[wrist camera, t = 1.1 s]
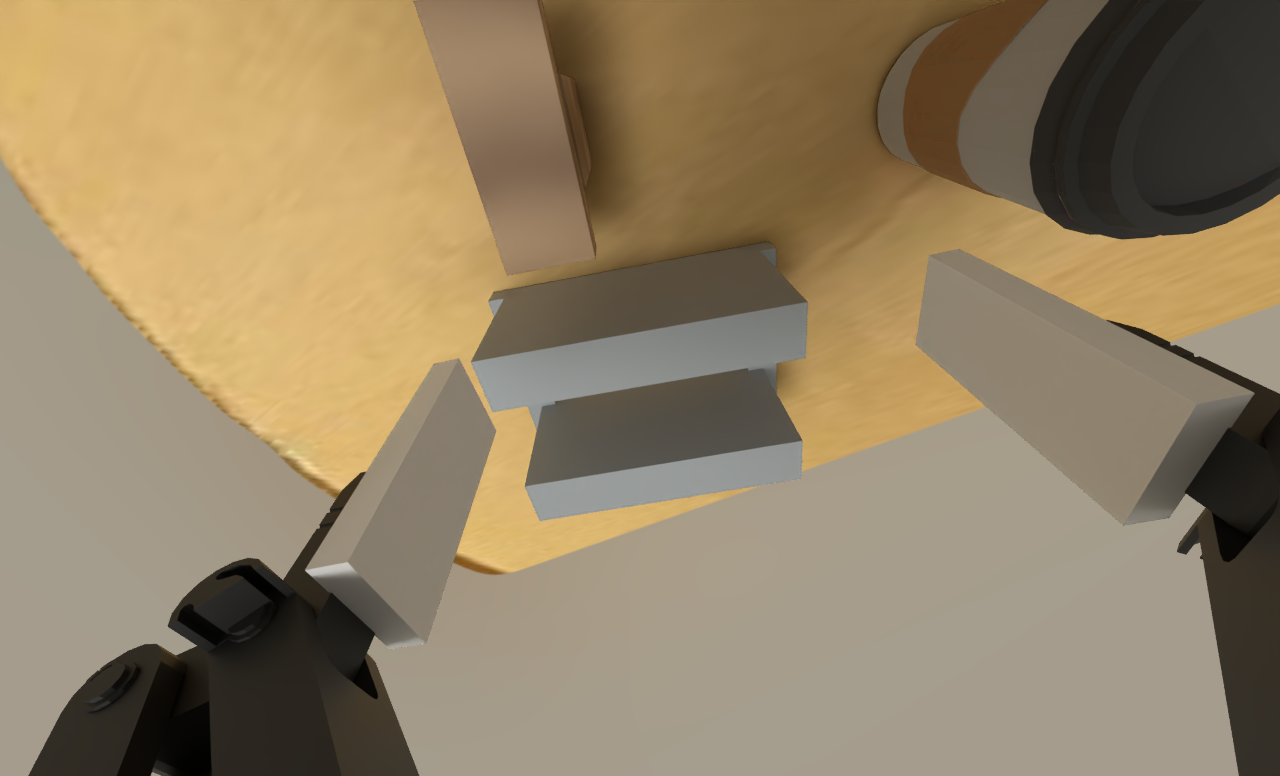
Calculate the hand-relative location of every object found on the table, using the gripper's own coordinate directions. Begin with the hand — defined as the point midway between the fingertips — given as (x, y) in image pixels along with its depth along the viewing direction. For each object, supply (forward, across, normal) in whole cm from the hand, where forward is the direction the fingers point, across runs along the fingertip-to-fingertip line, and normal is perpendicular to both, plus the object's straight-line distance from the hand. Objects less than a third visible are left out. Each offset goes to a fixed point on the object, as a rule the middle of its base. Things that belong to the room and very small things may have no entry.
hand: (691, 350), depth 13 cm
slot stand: (+17, -2, -9) cm, 19 cm away
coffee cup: (+18, +16, +2) cm, 24 cm away
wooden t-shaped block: (+17, -5, +5) cm, 19 cm away
